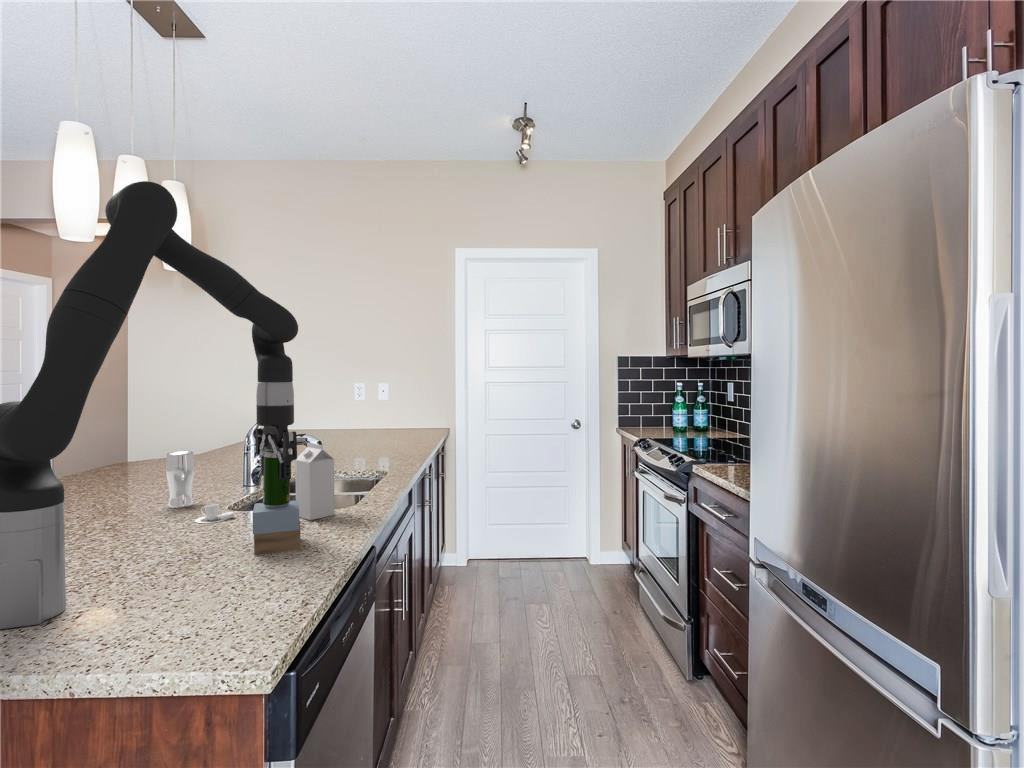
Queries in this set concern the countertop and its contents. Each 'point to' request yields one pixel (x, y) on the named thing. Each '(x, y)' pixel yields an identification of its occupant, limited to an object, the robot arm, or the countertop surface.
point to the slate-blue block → (275, 518)
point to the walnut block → (277, 542)
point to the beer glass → (180, 478)
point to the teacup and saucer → (214, 514)
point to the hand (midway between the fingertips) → (275, 477)
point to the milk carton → (315, 483)
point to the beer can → (274, 483)
